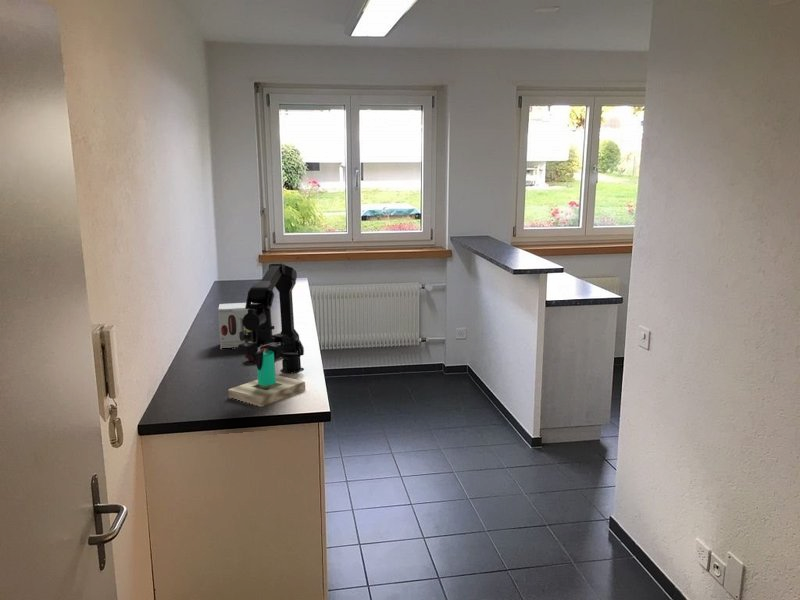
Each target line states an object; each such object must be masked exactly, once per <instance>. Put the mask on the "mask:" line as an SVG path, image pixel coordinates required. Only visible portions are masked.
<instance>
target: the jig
mask: <svg viewBox="0 0 800 600" xmlns="http://www.w3.org/2000/svg"><path fill="white" fill-rule="evenodd" d="M275 378H276V383H274V384H272V385H266V386H264V385H259V384H258V379H255V380H251V381H249V382H246V383H244V384H241V385H238V386H234V387H231V388H229V389H227V392H228V398H229V397H230V398H229V399H231V398H234V399H237V400H236V401H238V400H240V401H239V402H241V401H243V402H242V403H245V402H247V403H246V404H249V403H250V405H252V404H253V406H256V405H257V407H260V408H261V406H262V407H265V406H267V405H270V404H272V403H275V402H277V401H280V400H282V399H285V398H288V397H290V396H293V395H296V394H298V393H301V392H304V391H306V381H304V380H300V379H295V378H290V377H287V376H283V375H277V374H275ZM268 388H269V389H268ZM266 389H267V390H266ZM234 399H233V400H234ZM264 405H265V406H264Z"/></svg>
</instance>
